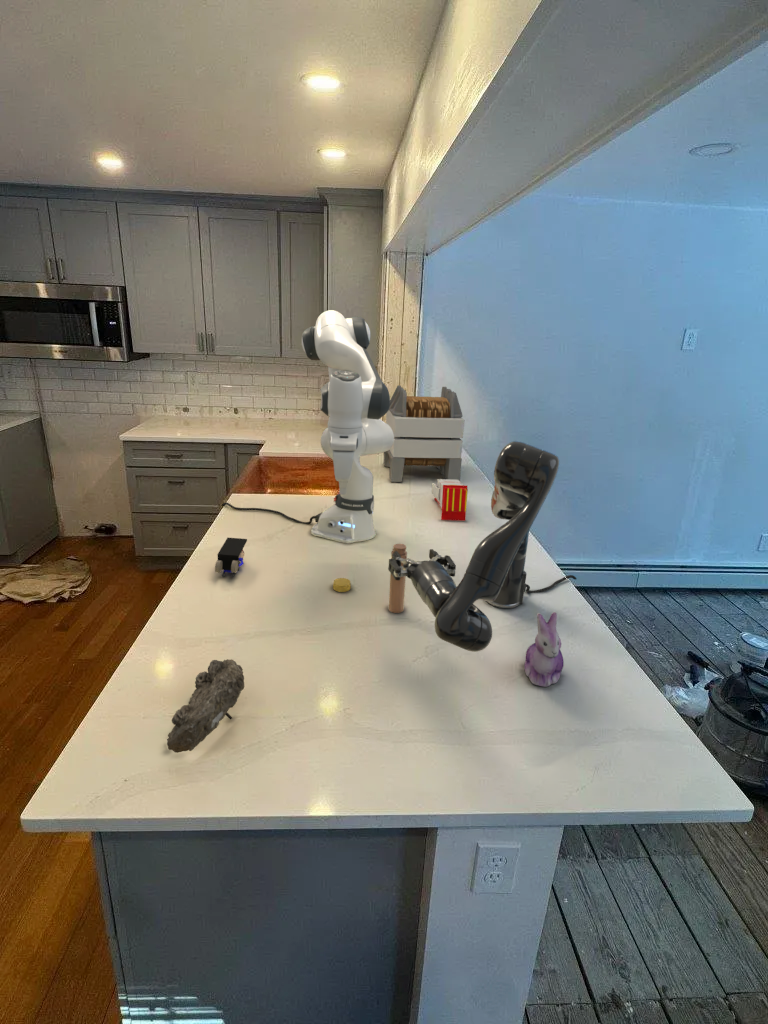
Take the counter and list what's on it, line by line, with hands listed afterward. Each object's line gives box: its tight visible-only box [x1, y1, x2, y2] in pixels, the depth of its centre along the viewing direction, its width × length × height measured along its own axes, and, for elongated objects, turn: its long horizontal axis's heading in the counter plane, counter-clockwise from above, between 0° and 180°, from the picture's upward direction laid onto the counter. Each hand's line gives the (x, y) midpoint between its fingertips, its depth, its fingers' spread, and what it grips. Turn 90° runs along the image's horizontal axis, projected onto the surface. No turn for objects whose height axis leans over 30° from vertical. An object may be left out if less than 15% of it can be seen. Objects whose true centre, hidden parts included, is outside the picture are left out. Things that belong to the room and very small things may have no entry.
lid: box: [332, 577, 352, 593], centre depth 159 cm, size 5×5×2 cm
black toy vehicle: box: [214, 537, 248, 578], centre depth 166 cm, size 7×8×15 cm
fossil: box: [166, 658, 245, 754], centre depth 106 cm, size 22×10×15 cm
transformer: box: [383, 384, 465, 483], centre depth 268 cm, size 34×33×41 cm
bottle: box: [387, 543, 408, 614], centre depth 147 cm, size 4×4×18 cm
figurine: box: [524, 611, 565, 688], centre depth 122 cm, size 9×10×15 cm
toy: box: [431, 478, 469, 522], centre depth 226 cm, size 12×13×30 cm
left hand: (343, 488), depth 150 cm, fingers open, 8 cm apart
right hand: (413, 553), depth 132 cm, fingers open, 8 cm apart
